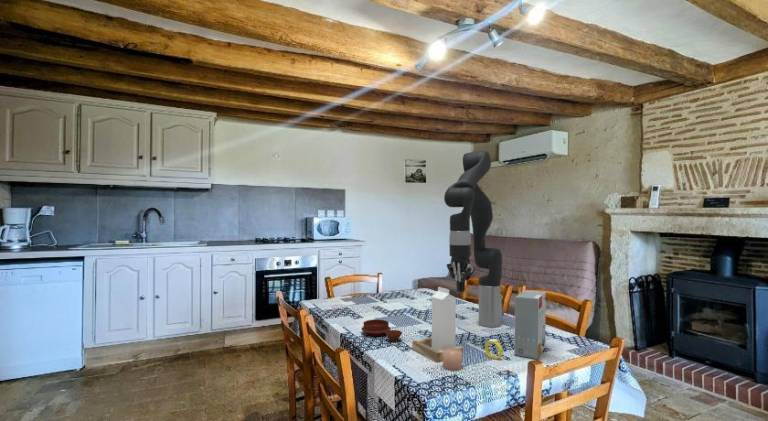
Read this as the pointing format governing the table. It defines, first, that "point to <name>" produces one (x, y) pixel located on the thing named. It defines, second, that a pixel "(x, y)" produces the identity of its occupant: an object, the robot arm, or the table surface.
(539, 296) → the hard drive box
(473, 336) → the table surface
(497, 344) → the watch
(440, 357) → the display frame
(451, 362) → the peach rounded capsule
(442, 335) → the milk
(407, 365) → the table surface
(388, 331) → the pottery
